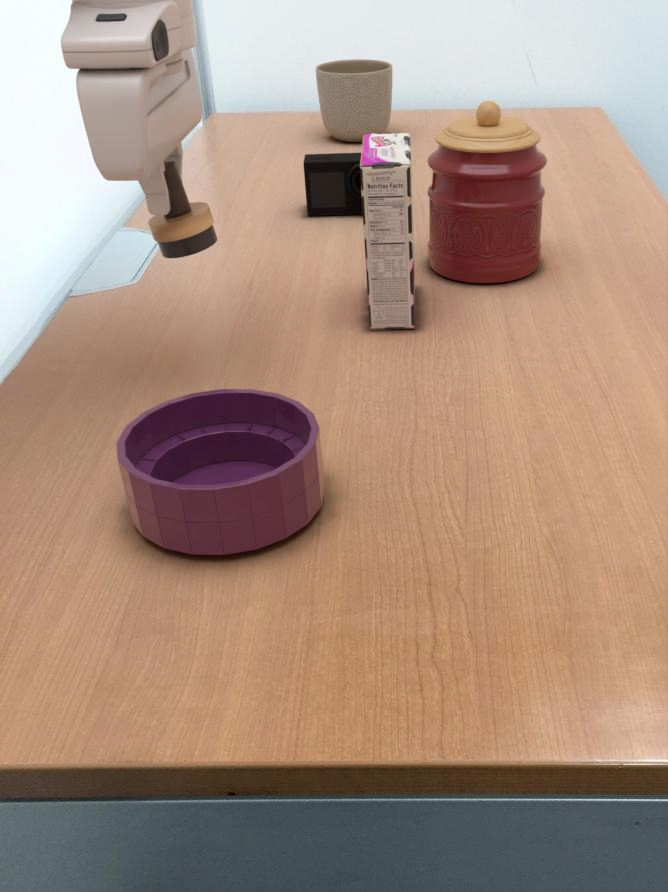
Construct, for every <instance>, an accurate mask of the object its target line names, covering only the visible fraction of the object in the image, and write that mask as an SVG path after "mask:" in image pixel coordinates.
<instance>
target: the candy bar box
mask: <svg viewBox="0 0 668 892" xmlns="http://www.w3.org/2000/svg"><path fill="white" fill-rule="evenodd" d="M361 144H362V145H361V152H360V153H361V160H360V174H361V191H362V210H363V215H362V225H363V240H364V243H363V244H364V258H365V273H366V274H365V275H366V291H367V307H368V308H367V309H368V324H369V329H370V330H371V331H372V330H373V331H374V330H375V331H386V330H387V331H388V330H409V329H410V330H411V329H412V330H413V329H415V328H416V283H415V281H416V280H415V279H416V277H415V242H414V240H415V239H414V206H413V200H414V199H413V172H412V171H413V170H412V169H413V168H412V153H411V152H412V149H411V135H410V133H409V132H384V133H381V134H377V133H372V134H366V135H363V141H362V142H361Z"/></svg>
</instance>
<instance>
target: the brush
mask: <svg viewBox="0 0 668 892" xmlns="http://www.w3.org/2000/svg"><path fill="white" fill-rule="evenodd" d="M164 165H165V171H164V176H165V180H166V184H167V188H170V189H171V195H172V201H173V207H172V209H171V210H170V212H169V213H168V214H167V215H152V217H150V218H149V219H148V221H147V225H148V228H149V230H150V233H151V236H152V239H153V241H155V242H156V243H157V245H158V248H159V250H160V254H161V256H162V257H163V258H165V259H181V258H185V257H189V256H193V255H195V254H198V253H201V252H203V251H206V250H207V249H209V248H211V247H213V246H214V245H215V244H217V242H218V236H217V233H216V230H215V227H214V222H215V221H214V218H213V215H212V212H211V208H210V206H209V204H208V202H204V201H196V202H190V201H189V198H188V195H187V192H186V189H185V186H184V184H182V183H183V180H182V181H181V178H180V175H179V172H178V169H177V166H176V163H175V162H174V161H169V162H164Z"/></svg>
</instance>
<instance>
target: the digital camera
mask: <svg viewBox="0 0 668 892" xmlns="http://www.w3.org/2000/svg"><path fill="white" fill-rule="evenodd" d="M361 153H362V152H337V153H333V152H332V153H307V154H304V157H303V158H304V159H303V175H304V190H305V201H306V213H307V216H308V217H329V216H363V210H362V191H361V174H360V160H361Z"/></svg>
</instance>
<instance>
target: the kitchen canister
mask: <svg viewBox="0 0 668 892" xmlns="http://www.w3.org/2000/svg"><path fill="white" fill-rule="evenodd" d="M541 137H542V136H541V134H540V133H539V132H538V131H537V130H535V129H534V128H533V127H531V126H529V124H528V122H527V121H525V120H523V119H520V118H516V117H511V116H502V112H501V108H500V106H499V104H498V103H497V102H495V101H493V100H485V101H482V102H481V103H479V105H478V106H477V109H476V113H475V115H473V116H467V117H461V118H457V119H455V120H452V121H450V122H449V124H448V125H447V126H446V127H444V128H442V129H441V130H440V131H438V132H437V133H436V134H435V138H434V140H435V143H437V144H438V147H437V149H435V150H434V151H433V152H431V154H430V155H429V156H428V157H427V165H428V167H429V168H430V169H431V170H432V176H431V184H430V185H429V186H428V189H427V196H428V202H429V203H428V206H429V207H428V208H429V210H428V211H429V213H428V215H429V216H428V217H429V220H428V221H429V222H428V223H429V229H428V230H429V239H428V243H427V248H428V250H427V256H428V258H429V264H430V268H431V269H432V270H433V271H434V272H435V273H436V274H438V275H440V276H442V277H444V278H446V279H450V280H454V281H458V282H464V283H473V284H497V283H498V284H499V283H506V282H511V281H516V280H519V279H523V278H524V277H527V276H529V275H531V274H532V273H534V272H535V271H536V269H537V268H538V265H539V261H540V258H541V255H542V251H541V250H542V242H541V232H542V217H543V201H544V197H545V195H546V189H545V187H544V186H543V185H542V170H543V169H544V168H545V167H546V165H547V163H548V158H547V156H546V155H545V154H544V153H543V152H542V151H541V150H539V149H538V147H537V145H538V144H539V143H540V141H541V140H542V139H541Z"/></svg>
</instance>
